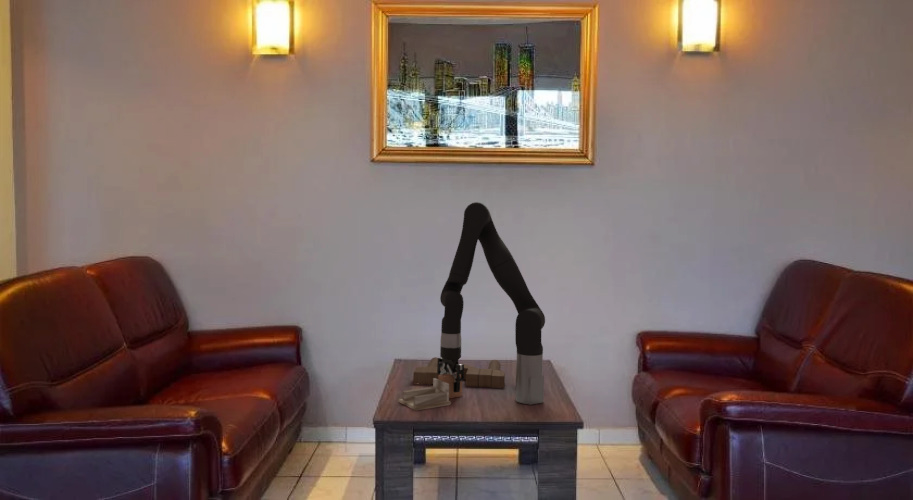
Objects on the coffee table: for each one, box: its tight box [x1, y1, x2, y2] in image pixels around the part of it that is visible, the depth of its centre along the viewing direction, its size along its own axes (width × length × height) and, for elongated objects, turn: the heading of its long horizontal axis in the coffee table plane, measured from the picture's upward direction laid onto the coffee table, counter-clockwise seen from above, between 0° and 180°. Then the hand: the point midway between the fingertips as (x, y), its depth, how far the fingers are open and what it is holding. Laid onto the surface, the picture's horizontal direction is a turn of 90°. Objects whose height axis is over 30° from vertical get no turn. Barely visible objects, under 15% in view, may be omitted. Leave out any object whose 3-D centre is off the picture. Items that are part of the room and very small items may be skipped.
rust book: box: [438, 374, 463, 399], centre depth 250 cm, size 4×8×8 cm, turn 123°
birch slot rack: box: [398, 378, 452, 411], centre depth 241 cm, size 12×14×7 cm
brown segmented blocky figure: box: [412, 356, 506, 389], centre depth 280 cm, size 35×6×29 cm
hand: (450, 389), depth 250 cm, fingers open, 8 cm apart
